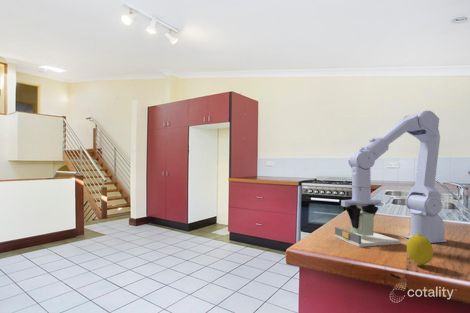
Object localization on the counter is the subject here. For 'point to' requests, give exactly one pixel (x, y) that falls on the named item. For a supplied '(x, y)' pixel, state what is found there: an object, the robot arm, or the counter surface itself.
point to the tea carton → (364, 224)
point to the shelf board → (364, 238)
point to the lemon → (419, 249)
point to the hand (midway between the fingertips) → (361, 227)
